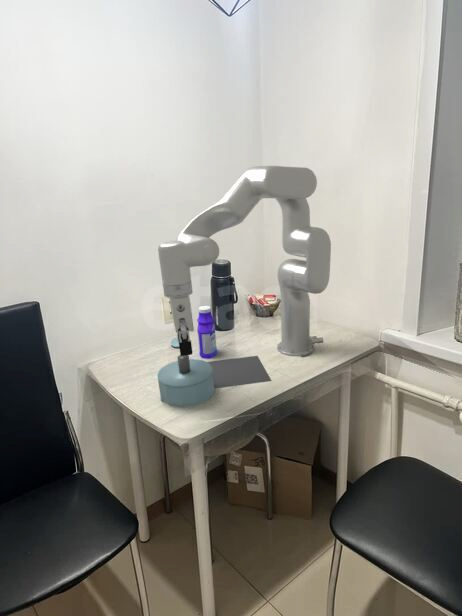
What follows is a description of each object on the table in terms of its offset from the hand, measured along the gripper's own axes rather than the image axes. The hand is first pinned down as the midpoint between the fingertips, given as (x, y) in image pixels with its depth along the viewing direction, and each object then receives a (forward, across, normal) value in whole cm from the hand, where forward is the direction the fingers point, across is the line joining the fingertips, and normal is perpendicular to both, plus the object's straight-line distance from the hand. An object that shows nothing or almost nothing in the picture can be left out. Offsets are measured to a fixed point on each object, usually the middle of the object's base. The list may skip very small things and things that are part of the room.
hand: (185, 347), depth 114 cm
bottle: (+15, +24, -8) cm, 29 cm away
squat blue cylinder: (+14, 0, +1) cm, 14 cm away
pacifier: (+15, +33, +2) cm, 36 cm away
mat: (+15, +8, -15) cm, 23 cm away
